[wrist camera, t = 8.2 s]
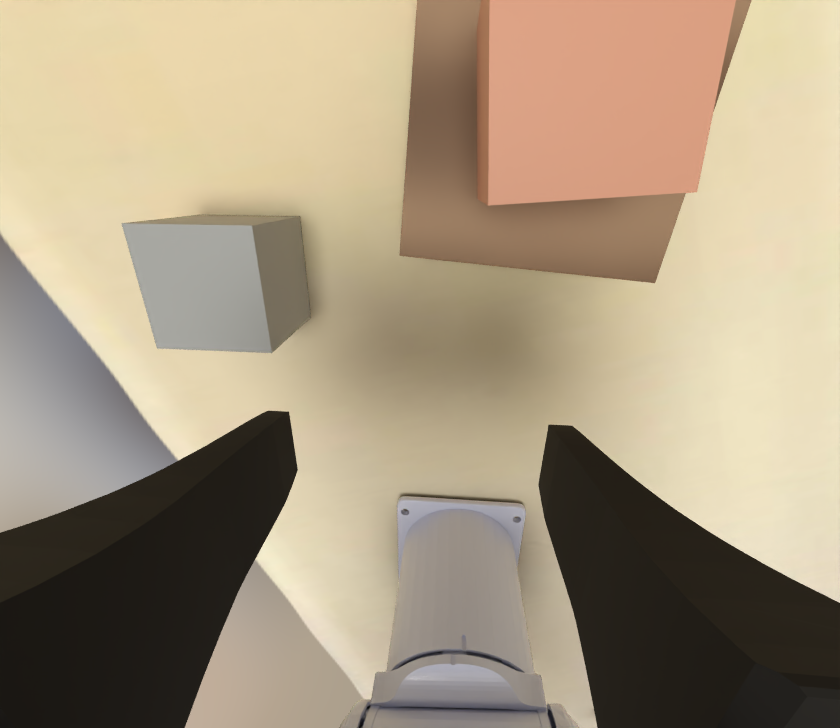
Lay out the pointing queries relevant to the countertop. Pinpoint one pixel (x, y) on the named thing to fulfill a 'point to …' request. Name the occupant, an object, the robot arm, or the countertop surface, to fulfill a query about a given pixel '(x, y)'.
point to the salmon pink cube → (595, 96)
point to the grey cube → (221, 280)
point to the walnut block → (511, 223)
